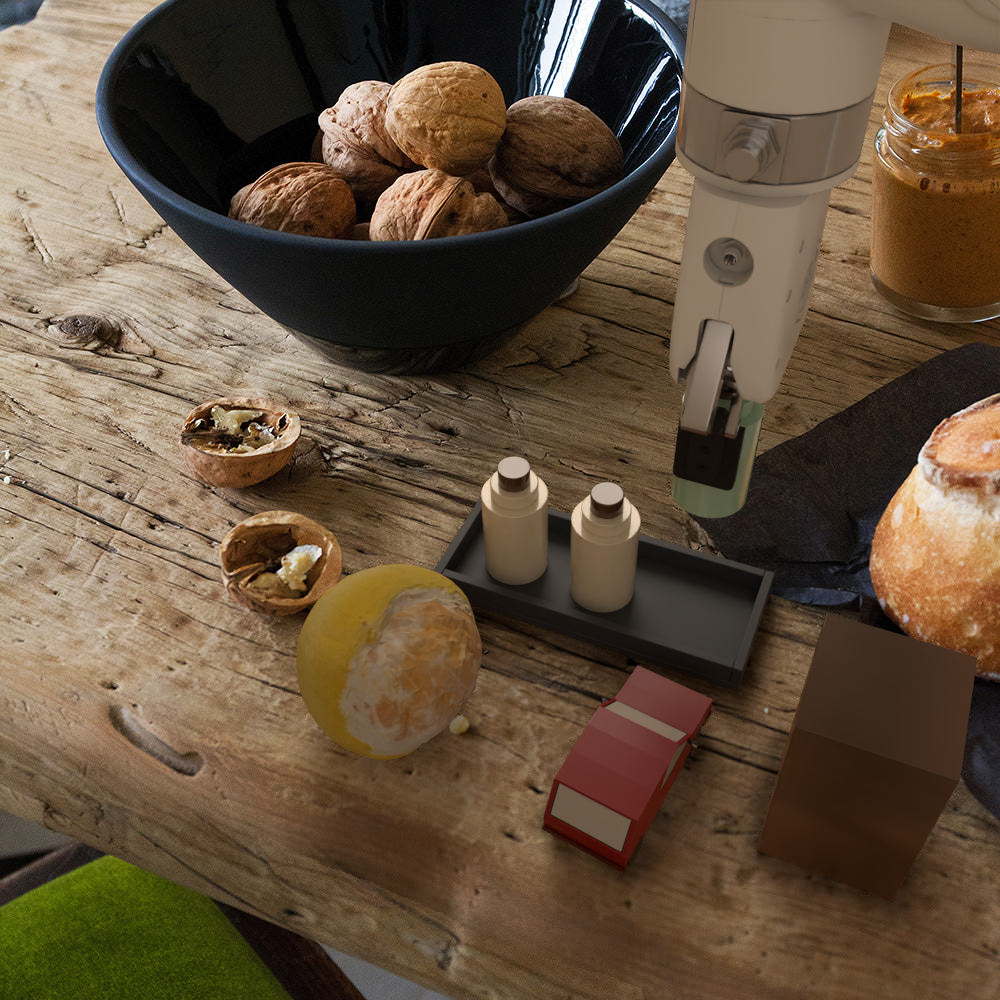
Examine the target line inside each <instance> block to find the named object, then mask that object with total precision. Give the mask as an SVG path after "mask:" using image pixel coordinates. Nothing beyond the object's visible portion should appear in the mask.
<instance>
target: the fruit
mask: <svg viewBox="0 0 1000 1000" xmlns="http://www.w3.org/2000/svg"><path fill="white" fill-rule="evenodd" d="M482 643H483V642H482V639H481V635H480V632H479V629H478V627H477V624H476V619H475V615H474V612H473V609H472V605H471V604H470V603H469V601H468V599H467V597H466V596H465V594H464V593H463V592H462V590H461V589H460V588H459V587H458V586H457V585H455V584H454V583H453V582H452V581H451V580H449V579H448V578H446V577H445V576H443V575H441V574H439V573H437V572H435V571H434V570H432V569H428V568H425V567H421V566H417V565H413V564H406V563H390V564H382V565H377V566H374V567H369V568H365V569H363V570H359V571H357V572H353V573H351V574H349V575H347V576H345V577H344V578H343V579H341V580H340V581H338V582H337V583H336V584H335V585H332V587H329V588H328V589H327V590H326V591H325V592H324V593H323V594H322V595H321V596H320V597H319V598H318V600H317V601H316V602H315V604H314V605H313V606H312V608H311V610H310V612H309V613H308V615H307V617H306V618H305V621H304V623H303V625H302V627H301V629H300V634H299V637H298V640H297V645H296V658H295V664H296V665H295V666H296V675H297V676H296V678H297V682H298V687H299V691H300V694H301V697H302V700H303V702H304V704H305V707H306V708H307V710H308V713H309V714H310V716H311V717H312V719H313V721H314V722H315V723H316V725H317V726H318V727H319V729H320V730H321V731H322V732H323V733H324V734H325V736H327V737H328V738H329V739H330V740H332V741H333V742H334V743H336V744H337V745H339V746H340V747H342V748H343V749H344V750H347V751H350V752H352V753H355V754H357V755H360V756H362V757H365V758H368V759H371V760H376V761H393V760H397V759H400V758H402V757H406V756H408V755H410V754H411V753H413V752H415V751H416V750H418V749H419V748H420V747H421V745H423V744H427V743H428V741H430V740H431V739H433V738H434V737H436V736H437V735H439V734H441V733H442V732H443V731H445V729H447V728H448V727H449V726H450V725H451V723H452V722H453V721H454V719H455V717H456V716H457V714H458V713H459V712H461V711H463V709H464V708H465V706H466V705H467V703H468V702H469V699H470V697H471V696H472V695H473V693H474V692H475V690H476V685H477V680H478V677H479V672H480V669H481V665H482V661H483V644H482Z"/></svg>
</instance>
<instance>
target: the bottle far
mask: <svg viewBox="0 0 1000 1000" xmlns="http://www.w3.org/2000/svg"><path fill="white" fill-rule="evenodd" d="M496 469H497V470H496V471H495V472H494V473H493V474H492V475H491V477H489V479H487V480H486V481H485V483H483V486H482V488H481V489H480V497H481V505H482V521H483V537H484V553H485V565H486V568H487V571H488V572H489V574H490V575H491V576H492V577H493V578H495V579H496V580H498V581H500V582H502V583H505V584H510V585H522V584H527V583H530V582H533V581H535V580H536V579H538V578H539V577H540V576H541V575H542V574H543V573H544V572H545V570H546V568H547V565H548V508H549V490H548V487H547V484H546V483H545V482H544V480H543V479H542V478H541V477H540V476H539V475H538V476H537V474H536V473H535V472H534V471H533V470H532V469H531V465H530V463H529V461H528V460H527V459H525V458H524V457H521V456H507V457H505V458H503V459H501V460H500V461H499V463H498V464H497V466H496Z"/></svg>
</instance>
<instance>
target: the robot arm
mask: <svg viewBox="0 0 1000 1000" xmlns="http://www.w3.org/2000/svg"><path fill="white" fill-rule="evenodd" d="M893 23H895V24H898V25H900V26H903V27H906V28H909V29H912V30H914V31H917V32H920V33H923V34H924V35H925V34H926V35H929V36H931V37H933V38H936V39H939V40H942V41H945V42H948V43H950V44H954V45H957V46H961V47H964V48H967V49H971V50H976V51H980V52H984V53H985V52H986V53H991V54H995V55H1000V0H689V11H688V23H687V31H686V42H685V51H684V62H683V69H682V77H681V86H680V96H679V107H678V117H677V126H676V137H675V147H674V152H675V156H676V158H677V161H678V163H679V164H680V165H681V166H682V167H683V168H684V170H685V171H686V172H688V173H689V174H690V175H691V176H693V177H694V180H693V185H692V189H691V196H690V201H689V208H688V214H687V219H686V221H685V224H684V229H685V232H684V237H683V244H682V252H681V259H680V263H679V271H678V278H677V284H676V293H675V299H674V307H673V314H672V321H671V332H670V341H669V355H668V357H669V358H668V371H669V372H668V373H669V375H670V377H671V378H672V379H673V381H674V382H675V383H676V384H677V385H680V384H682V382H683V381H685V382H686V383H685V390H684V393H685V395H684V400H683V406H682V411H681V410H680V411H681V415H680V414H679V418H678V426H677V432H676V439H675V447H674V448H675V449H674V455H673V463H672V473H673V474H674V475H675V476H676V477H678V478H681V479H685V480H688V481H692V482H696V483H699V484H703V485H707V486H710V487H714V488H718V489H722V490H726V491H729V490H731V489H732V488H733V486H734V483H735V481H736V476H737V471H738V466H739V461H740V455H741V450H742V445H743V440H744V434H745V429H746V427H742V426H740V423H741V418H742V414H743V409H744V405H745V400H748V401H754V402H756V403H757V404H762V403H764V404H765V403H766V402H768V401H769V400H771V399H772V398H773V397H774V396H775V395H776V393H777V391H778V388H779V387H780V384H781V382H782V379H783V376H784V375H785V372H786V369H787V367H788V365H789V363H790V359H791V357H792V354H793V352H794V349H795V347H796V344H797V342H798V338H799V336H800V334H801V331H802V328H803V326H804V323H805V320H806V317H807V314H808V311H809V309H810V304H811V301H812V296H813V292H814V287H815V286H814V285H815V282H816V281H815V279H816V276H817V275H816V274H817V269H818V263H819V257H820V252H821V248H822V247H821V245H822V243H823V237H824V231H825V227H826V221H827V217H828V211H829V205H830V201H831V196H832V190H833V189H835V188H836V187H839V186H840V185H842V184H843V183H845V182H846V181H848V180H849V179H851V177H852V176H853V175H855V174H856V171H857V170H858V167H859V163H860V160H861V155H862V150H863V147H864V142H865V139H866V134H867V129H868V125H869V121H870V117H871V113H872V109H873V104H874V99H875V95H876V92H877V87H878V82H879V78H880V75H881V70H882V67H883V63H884V58H885V53H886V50H887V46H888V45H887V44H888V40H889V37H890V32H891V27H892V24H893ZM727 366H729V367H731V368H732V371H730V370H726V369H727ZM721 391H725V392H729V393H733V394H732V399H731V403H730V408H729V412H728V410H727V409H726V408H723V407H718V406H717V405H718V400H719V396H720V392H721Z"/></svg>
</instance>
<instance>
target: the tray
mask: <svg viewBox="0 0 1000 1000" xmlns="http://www.w3.org/2000/svg"><path fill="white" fill-rule="evenodd" d="M571 515H572V513H569V512H564V511H562V510H557V509H556V508H555V509H554V508H551V507H548V565H547V568H546V570H545V572H544V573H543V574H542V575H541V576H540V577H539V578H538V579H536V580H535V581H533V582H530V583H527V584H522V585H510V584H505V583H502V582H500V581H498V580H496V579H495V578H493V577H492V576H491V575H490V574H489V572H488V571H487V568H486V565H485V553H484V537H483V521H482V505H481V496H480V497H479V498H478V499H477V501H476V503H475V505H474V506H473V508H472V509H471V510H470V513H469V514H468V515H467V517H466V519H465V520H464V522H463V524H462V525H461V527H460V528H459V530H458V532H457V533H456V534H455V536H454V538H453V540H452V541H451V542H450V544H449V546H448V548H447V549H446V551H445V552H444V554H443V556H442V557H441V558H440V560H439V561H438V563H437V565H436V566H435V568H434V570H433V571H435V572H437V573H439V574H441V575H443V576H445V577H446V578H448V579H449V580H451V581H452V582H453V583H454V584H455V585H457V586H458V587H459V588H460V589H461V590H462V592H463V593H464V594H465V596H466V597H467V599H468V601H469V603H470V606H474V607H478V608H480V609H483V610H487V611H489V612H493V613H496V614H499V615H502V616H505V617H508V618H511V619H513V620H514V619H515V620H517V621H521V622H522V623H523V622H524V623H526V624H530V625H532V626H535V627H538V628H541V629H546V630H548V631H551V632H554V633H557V634H560V635H563V636H566V637H569V638H572V639H575V640H579V641H581V642H584V643H588V644H591V645H593V646H597V647H599V648H600V647H601V648H604V649H606V650H609V651H612V652H615V653H619V654H622V655H624V656H628V657H631V658H634V659H636V660H639V661H642V662H646V663H648V664H651V665H655V666H658V667H661V668H664V669H667V670H670V671H673V672H676V673H678V674H679V673H680V674H682V675H685V676H689V677H692V678H694V679H698V680H701V681H704V682H707V683H710V684H713V685H716V686H720V687H723V688H724V689H728V690H732V691H734V692H739V690H740V687H741V684H742V682H743V678H744V674H745V673H746V672H745V671H746V669H747V665H748V662H749V661H750V660H749V659H750V657H751V653H752V650H753V647H754V644H755V642H756V638H757V635H758V632H759V629H760V626H761V622H762V619H763V617H764V614H765V610H766V607H767V605H768V601H769V598H770V596H771V591H772V588H773V583H774V579H775V575H776V573H775V572H773V571H770V570H765V569H763V568H760V567H755V566H752V565H749V564H745V563H742V562H739V561H735V560H731V559H728V558H724V557H721V556H718V555H714V554H711V553H707V552H705V551H704V552H703V551H701V550H697V549H693V548H690V547H687V546H683V545H679V544H676V543H673V542H669V541H665V540H662V539H658V538H655V537H651V536H648V535H645V534H642V533H640V536H639V546H638V557H637V567H636V578H635V588H634V594H633V597H632V599H631V600H630V601H629V603H628V604H627V605H625V606H624V607H622V608H621V609H619V610H616V611H612V612H605V613H601V612H594V611H590V610H587V609H585V608H583V607H582V606H580V605H579V604H578V603H577V602H576V601H575V600H574V599H573V597H572V595H571V593H570V589H569V578H570V540H571Z"/></svg>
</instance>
